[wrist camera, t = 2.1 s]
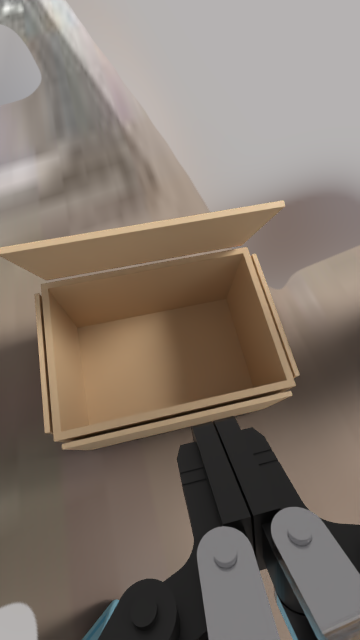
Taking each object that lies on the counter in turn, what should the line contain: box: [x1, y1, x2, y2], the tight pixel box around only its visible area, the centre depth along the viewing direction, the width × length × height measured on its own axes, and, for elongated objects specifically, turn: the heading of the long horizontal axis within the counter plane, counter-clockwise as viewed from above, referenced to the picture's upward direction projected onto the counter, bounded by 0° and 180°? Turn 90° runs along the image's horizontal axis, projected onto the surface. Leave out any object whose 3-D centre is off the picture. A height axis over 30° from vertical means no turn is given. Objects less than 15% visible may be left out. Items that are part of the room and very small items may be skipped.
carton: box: [35, 247, 300, 450], centre depth 34 cm, size 21×15×11 cm
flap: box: [0, 201, 285, 280], centre depth 26 cm, size 19×1×10 cm, turn 103°
